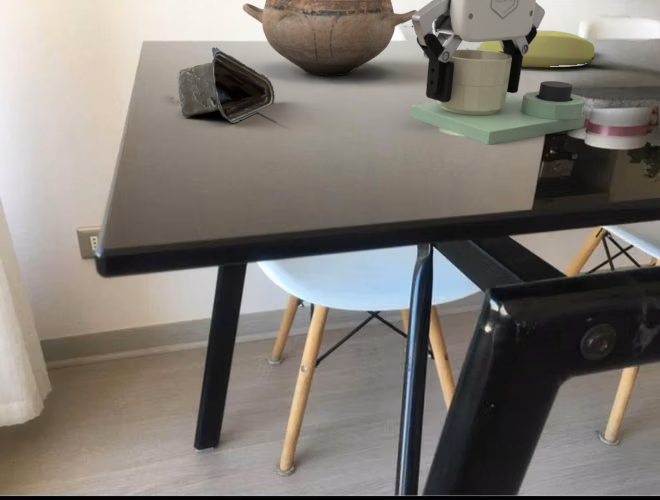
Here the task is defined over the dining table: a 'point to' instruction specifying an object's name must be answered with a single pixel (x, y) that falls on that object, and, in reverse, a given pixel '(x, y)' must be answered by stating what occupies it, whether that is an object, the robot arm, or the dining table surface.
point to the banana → (551, 49)
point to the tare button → (555, 91)
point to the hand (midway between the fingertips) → (472, 95)
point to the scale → (508, 118)
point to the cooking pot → (328, 31)
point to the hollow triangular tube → (223, 88)
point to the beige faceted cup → (478, 82)
